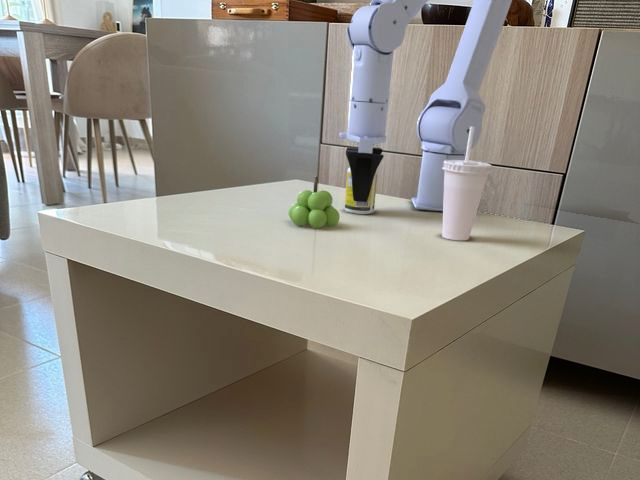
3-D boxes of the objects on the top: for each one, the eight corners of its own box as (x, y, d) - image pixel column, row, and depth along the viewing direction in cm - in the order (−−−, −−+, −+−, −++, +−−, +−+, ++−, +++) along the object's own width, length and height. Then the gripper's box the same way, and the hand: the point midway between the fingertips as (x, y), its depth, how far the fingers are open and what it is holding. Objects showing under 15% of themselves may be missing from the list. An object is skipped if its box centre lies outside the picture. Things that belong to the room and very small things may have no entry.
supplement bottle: (356, 207, 103) (361, 152, 99) (379, 212, 100) (385, 156, 96) (338, 210, 100) (342, 153, 96) (361, 215, 97) (366, 157, 93)
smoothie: (426, 237, 86) (442, 124, 79) (440, 230, 91) (457, 123, 84) (471, 245, 84) (492, 129, 77) (483, 237, 89) (504, 128, 82)
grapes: (285, 218, 91) (287, 171, 88) (330, 219, 93) (334, 173, 90) (294, 229, 85) (296, 179, 82) (342, 230, 86) (346, 181, 83)
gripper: (343, 98, 99) (336, 189, 105) (340, 101, 86) (333, 204, 93) (387, 102, 99) (378, 192, 105) (391, 105, 86) (380, 207, 93)
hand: (360, 198), depth 99 cm, fingers closed on supplement bottle, 5 cm apart
